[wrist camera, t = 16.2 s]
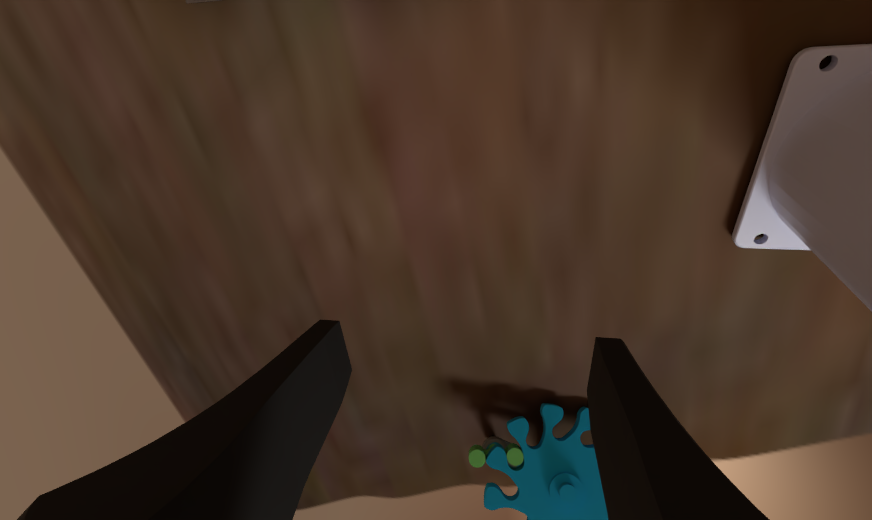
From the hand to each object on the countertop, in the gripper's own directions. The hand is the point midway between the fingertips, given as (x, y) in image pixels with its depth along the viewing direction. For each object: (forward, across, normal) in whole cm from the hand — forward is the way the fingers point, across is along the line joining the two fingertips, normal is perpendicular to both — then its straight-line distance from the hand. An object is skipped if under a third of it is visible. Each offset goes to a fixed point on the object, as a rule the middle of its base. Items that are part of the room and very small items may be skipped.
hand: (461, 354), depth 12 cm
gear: (+11, -4, +17) cm, 21 cm away
